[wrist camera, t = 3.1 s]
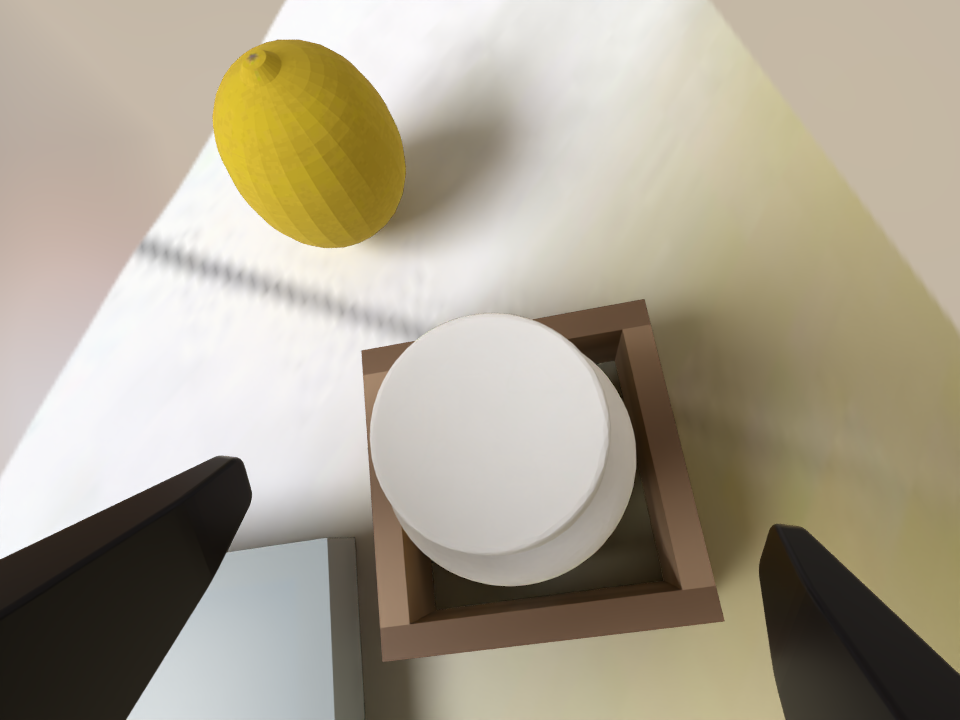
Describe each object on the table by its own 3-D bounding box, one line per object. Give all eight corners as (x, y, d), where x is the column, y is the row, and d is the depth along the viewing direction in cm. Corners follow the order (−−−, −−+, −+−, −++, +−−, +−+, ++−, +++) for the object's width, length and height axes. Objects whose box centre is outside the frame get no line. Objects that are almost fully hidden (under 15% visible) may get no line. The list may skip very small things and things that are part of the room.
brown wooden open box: (697, 606, 16) (725, 621, 13) (413, 641, 17) (382, 661, 14) (633, 334, 19) (644, 299, 16) (391, 377, 20) (361, 350, 17)
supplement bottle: (607, 395, 18) (642, 259, 9) (621, 568, 17) (679, 607, 8) (448, 402, 19) (338, 283, 10) (447, 568, 18) (313, 604, 8)
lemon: (419, 147, 23) (343, -45, 15) (437, 266, 21) (361, 114, 13) (292, 179, 23) (158, 7, 16) (299, 297, 21) (152, 168, 14)
